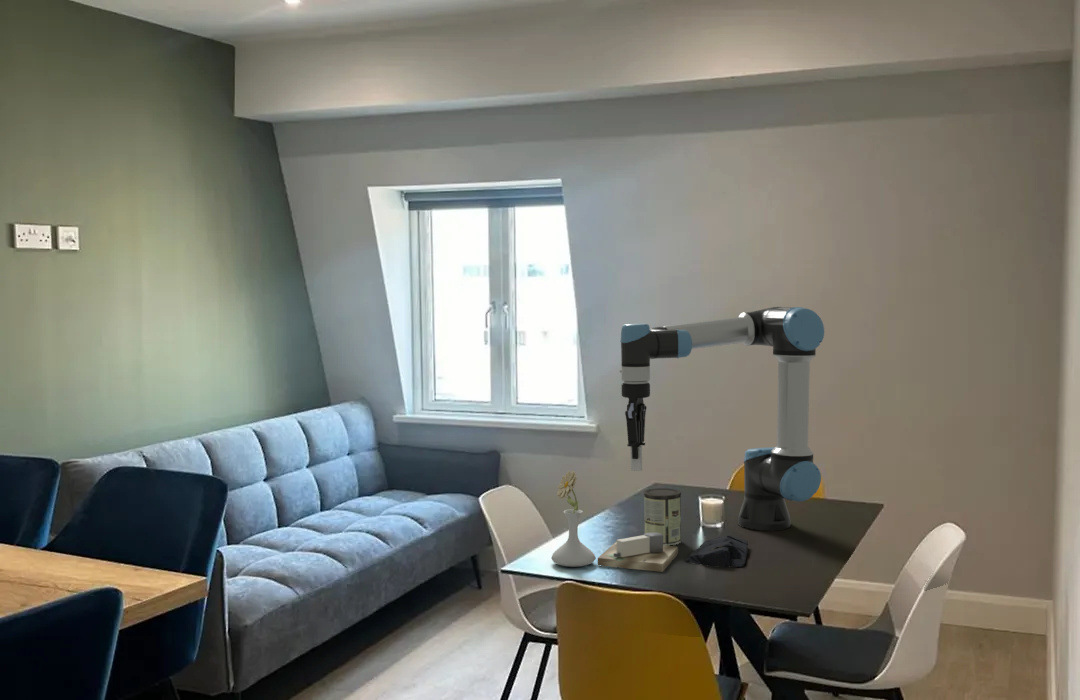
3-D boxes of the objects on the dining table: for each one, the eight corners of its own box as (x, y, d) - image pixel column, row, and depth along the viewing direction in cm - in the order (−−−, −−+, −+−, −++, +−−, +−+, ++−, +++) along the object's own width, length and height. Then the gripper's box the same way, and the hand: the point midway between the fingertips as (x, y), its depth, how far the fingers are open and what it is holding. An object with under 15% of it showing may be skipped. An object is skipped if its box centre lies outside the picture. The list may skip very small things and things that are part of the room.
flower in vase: (551, 558, 263) (550, 464, 261) (595, 558, 262) (594, 463, 261) (550, 572, 250) (549, 473, 248) (596, 572, 249) (595, 473, 248)
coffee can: (650, 535, 285) (650, 486, 284) (685, 539, 281) (685, 489, 280) (638, 544, 276) (638, 493, 275) (674, 548, 271) (674, 496, 270)
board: (677, 554, 265) (677, 546, 265) (661, 572, 248) (661, 564, 248) (616, 548, 271) (616, 541, 271) (596, 566, 254) (596, 558, 254)
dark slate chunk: (756, 549, 271) (757, 532, 271) (742, 571, 251) (742, 552, 250) (701, 544, 277) (701, 527, 276) (682, 565, 256) (682, 547, 256)
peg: (655, 546, 264) (655, 531, 264) (667, 550, 260) (667, 535, 259) (609, 554, 256) (609, 539, 256) (620, 559, 252) (620, 543, 252)
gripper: (628, 379, 271) (629, 465, 273) (615, 384, 259) (616, 474, 261) (655, 379, 269) (656, 466, 270) (643, 384, 256) (644, 475, 258)
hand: (636, 470), depth 265 cm, fingers closed
